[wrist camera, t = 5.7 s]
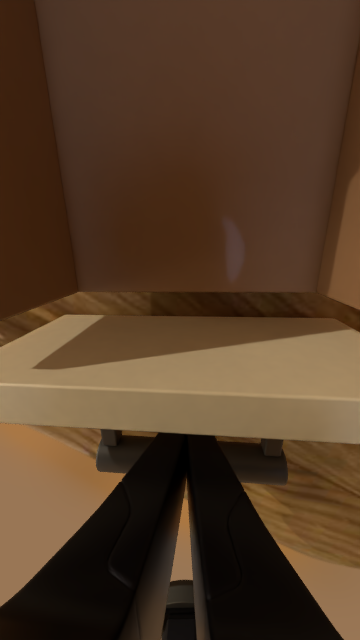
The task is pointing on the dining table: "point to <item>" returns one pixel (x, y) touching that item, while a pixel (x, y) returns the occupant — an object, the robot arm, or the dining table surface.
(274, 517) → the dining table surface
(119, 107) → the drawer
